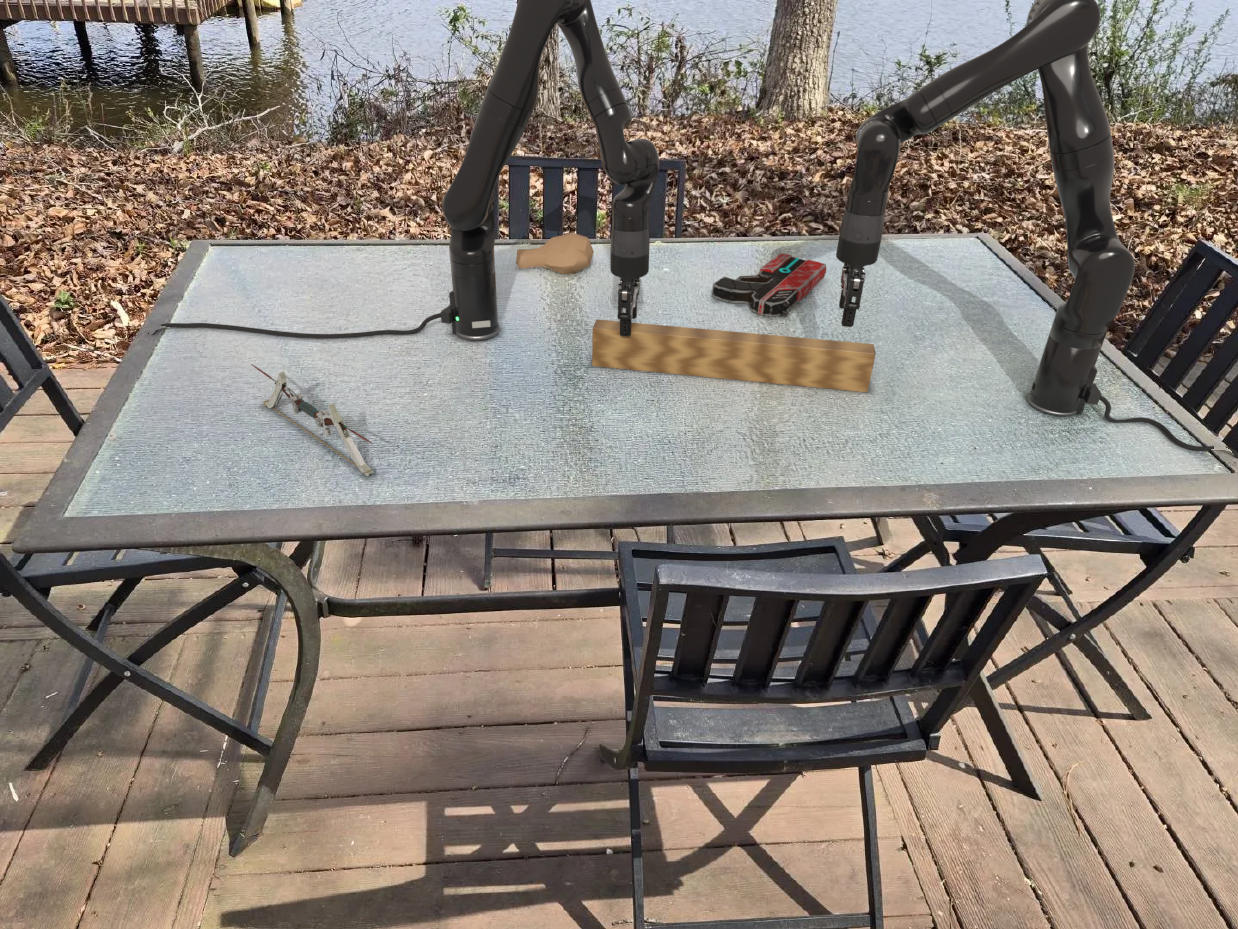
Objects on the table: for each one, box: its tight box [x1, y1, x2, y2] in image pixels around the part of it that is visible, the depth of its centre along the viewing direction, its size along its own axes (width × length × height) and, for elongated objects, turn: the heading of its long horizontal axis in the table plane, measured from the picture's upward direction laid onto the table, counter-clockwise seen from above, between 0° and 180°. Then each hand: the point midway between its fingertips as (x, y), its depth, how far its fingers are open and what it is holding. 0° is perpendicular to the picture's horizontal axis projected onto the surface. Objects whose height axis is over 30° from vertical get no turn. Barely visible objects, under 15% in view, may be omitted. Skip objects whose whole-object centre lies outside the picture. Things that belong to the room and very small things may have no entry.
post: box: [591, 318, 877, 393], centre depth 177 cm, size 56×4×9 cm, turn 81°
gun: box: [711, 252, 827, 318], centre depth 215 cm, size 4×31×19 cm
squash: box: [515, 232, 595, 275], centre depth 223 cm, size 11×20×9 cm, turn 90°
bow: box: [250, 363, 375, 477], centre depth 152 cm, size 39×2×10 cm, turn 47°
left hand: (628, 326), depth 177 cm, fingers open, 8 cm apart
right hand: (845, 316), depth 169 cm, fingers open, 8 cm apart
